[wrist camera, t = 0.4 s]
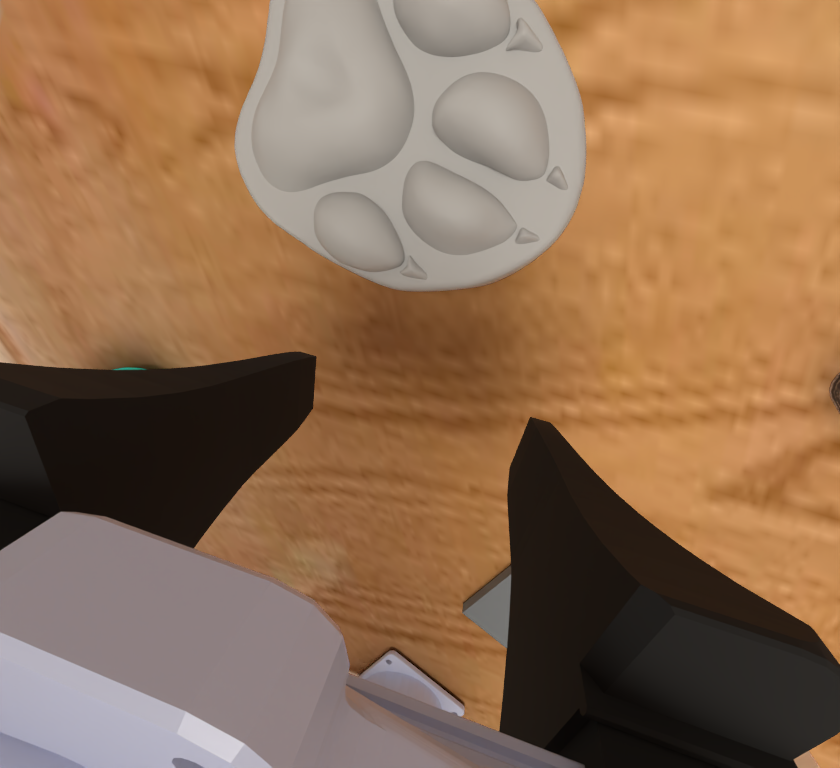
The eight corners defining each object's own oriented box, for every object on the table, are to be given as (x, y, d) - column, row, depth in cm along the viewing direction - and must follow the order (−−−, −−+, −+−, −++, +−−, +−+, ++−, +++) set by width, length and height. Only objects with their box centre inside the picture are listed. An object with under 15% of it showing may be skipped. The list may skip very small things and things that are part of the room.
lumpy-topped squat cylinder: (375, 24, 18) (270, -202, 9) (604, 143, 17) (705, 11, 9) (304, 225, 21) (184, 187, 13) (492, 330, 20) (491, 359, 12)
